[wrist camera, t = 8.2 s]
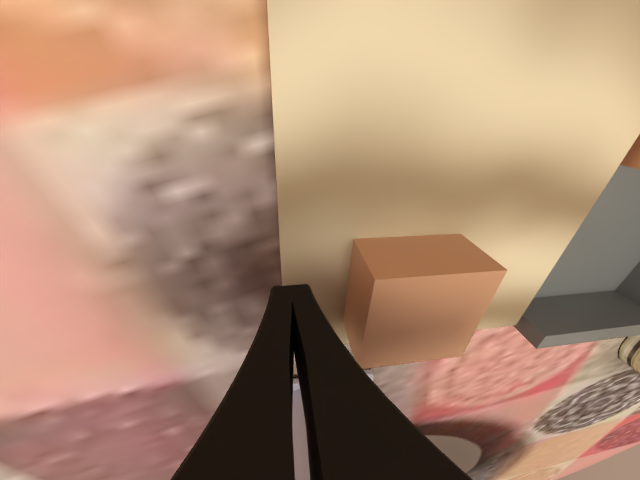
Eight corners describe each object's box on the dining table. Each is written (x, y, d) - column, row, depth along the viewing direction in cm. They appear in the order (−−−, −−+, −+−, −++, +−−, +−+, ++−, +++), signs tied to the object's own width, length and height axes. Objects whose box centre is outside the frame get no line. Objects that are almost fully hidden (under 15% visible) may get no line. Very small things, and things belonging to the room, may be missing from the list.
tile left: (430, 312, 12) (461, 356, 10) (342, 321, 12) (357, 369, 10) (460, 233, 10) (507, 269, 8) (353, 238, 9) (375, 279, 7)
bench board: (490, 299, 16) (515, 325, 14) (283, 319, 14) (285, 351, 12) (667, -36, 8) (770, -69, 6) (262, -100, 6) (258, -171, 4)
